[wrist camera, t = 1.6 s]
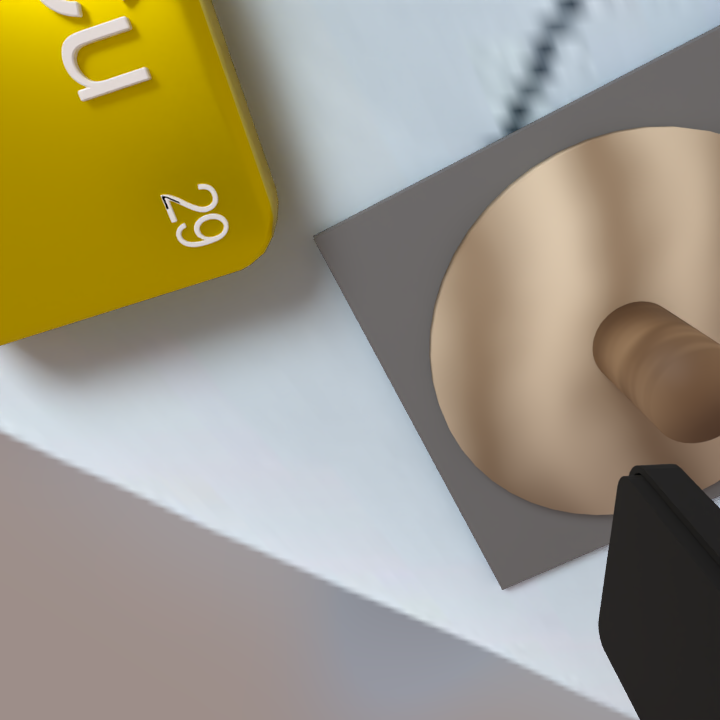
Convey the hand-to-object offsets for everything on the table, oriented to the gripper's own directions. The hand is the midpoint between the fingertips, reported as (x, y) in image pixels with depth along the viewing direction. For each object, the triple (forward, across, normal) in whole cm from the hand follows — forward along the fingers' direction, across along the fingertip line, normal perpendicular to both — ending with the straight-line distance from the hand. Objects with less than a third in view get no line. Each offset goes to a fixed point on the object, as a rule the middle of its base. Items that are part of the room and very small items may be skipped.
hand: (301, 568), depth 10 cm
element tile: (+23, +10, -5) cm, 26 cm away
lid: (+22, -15, +5) cm, 27 cm away
